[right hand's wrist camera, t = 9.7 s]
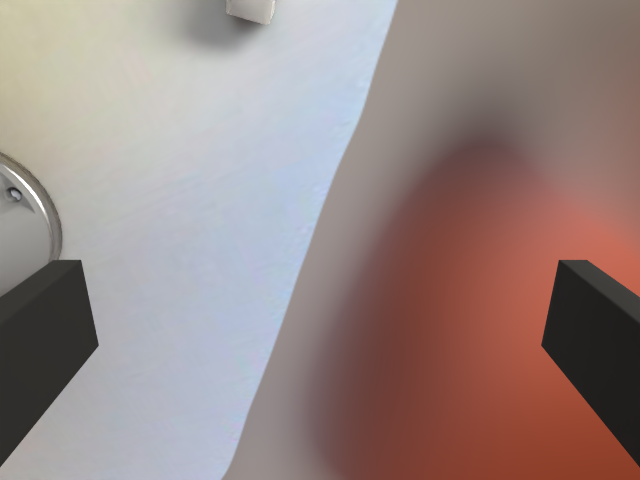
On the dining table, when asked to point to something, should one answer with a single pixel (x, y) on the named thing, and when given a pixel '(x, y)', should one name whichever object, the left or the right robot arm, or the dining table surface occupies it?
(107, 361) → the dining table surface
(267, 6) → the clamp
